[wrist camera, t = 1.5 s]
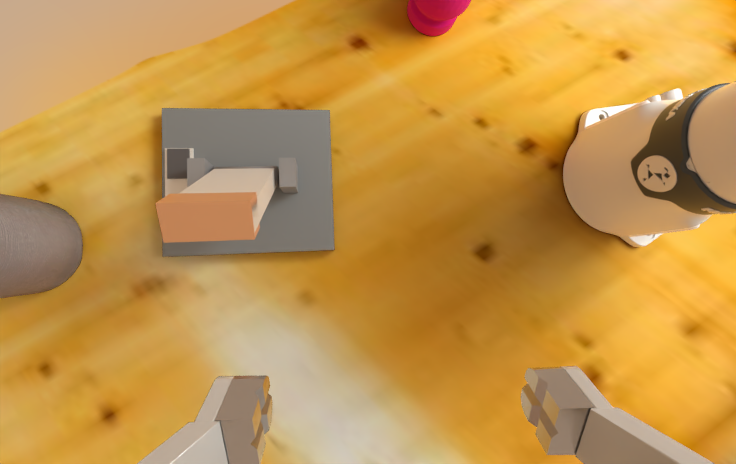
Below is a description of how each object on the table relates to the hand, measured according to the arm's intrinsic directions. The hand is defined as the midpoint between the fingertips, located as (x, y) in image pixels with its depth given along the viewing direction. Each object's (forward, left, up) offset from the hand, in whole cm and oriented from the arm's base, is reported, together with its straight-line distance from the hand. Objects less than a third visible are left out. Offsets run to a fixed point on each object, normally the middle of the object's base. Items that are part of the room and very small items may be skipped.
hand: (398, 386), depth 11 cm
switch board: (+5, -15, -29) cm, 34 cm away
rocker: (+5, -16, -27) cm, 32 cm away
